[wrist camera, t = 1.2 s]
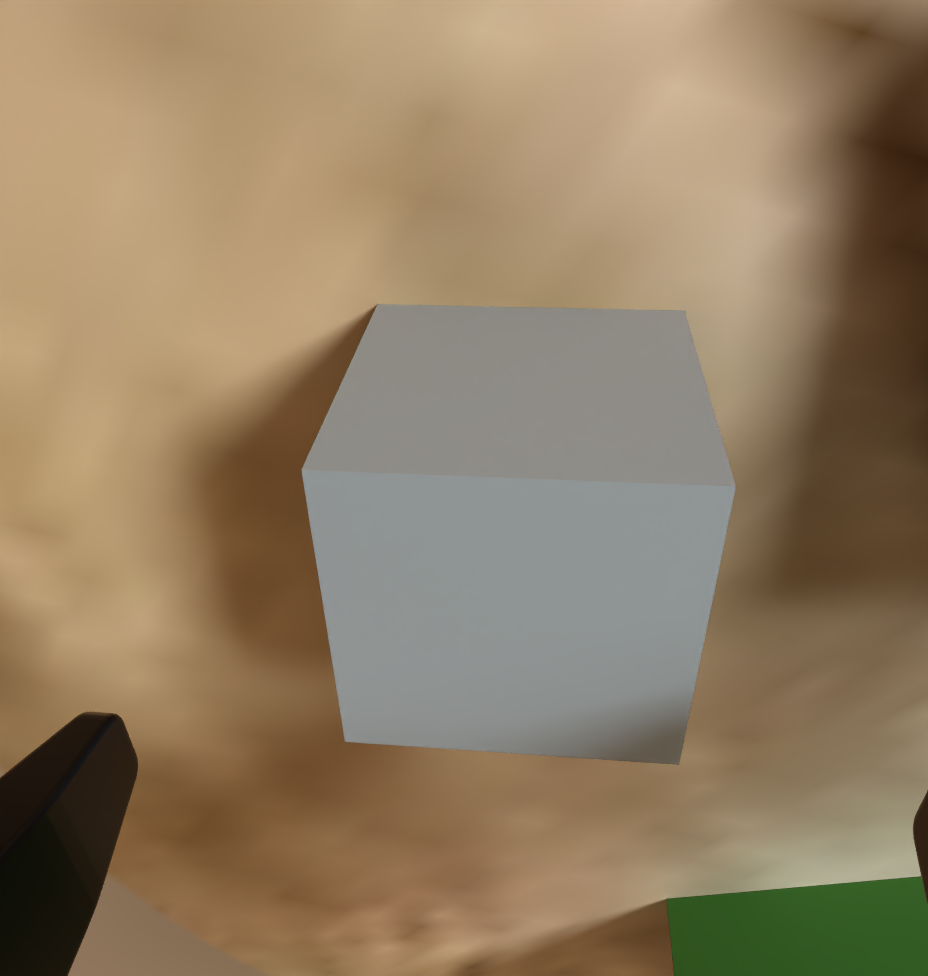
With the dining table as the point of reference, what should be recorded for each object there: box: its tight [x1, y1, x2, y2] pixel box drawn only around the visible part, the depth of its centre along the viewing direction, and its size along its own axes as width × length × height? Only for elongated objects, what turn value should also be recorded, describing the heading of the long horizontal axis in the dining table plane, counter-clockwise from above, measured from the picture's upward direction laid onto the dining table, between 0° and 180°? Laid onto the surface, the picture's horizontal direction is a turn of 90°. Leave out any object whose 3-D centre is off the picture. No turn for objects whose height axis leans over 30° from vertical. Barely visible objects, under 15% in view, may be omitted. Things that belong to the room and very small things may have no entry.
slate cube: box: [301, 304, 736, 765], centre depth 13 cm, size 5×5×5 cm
